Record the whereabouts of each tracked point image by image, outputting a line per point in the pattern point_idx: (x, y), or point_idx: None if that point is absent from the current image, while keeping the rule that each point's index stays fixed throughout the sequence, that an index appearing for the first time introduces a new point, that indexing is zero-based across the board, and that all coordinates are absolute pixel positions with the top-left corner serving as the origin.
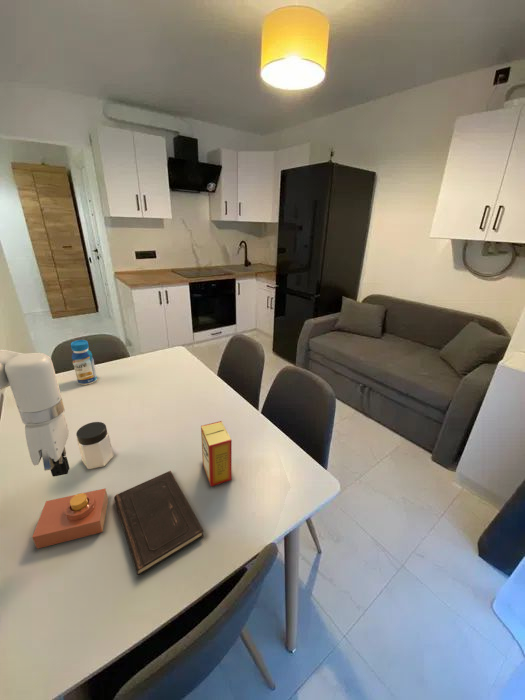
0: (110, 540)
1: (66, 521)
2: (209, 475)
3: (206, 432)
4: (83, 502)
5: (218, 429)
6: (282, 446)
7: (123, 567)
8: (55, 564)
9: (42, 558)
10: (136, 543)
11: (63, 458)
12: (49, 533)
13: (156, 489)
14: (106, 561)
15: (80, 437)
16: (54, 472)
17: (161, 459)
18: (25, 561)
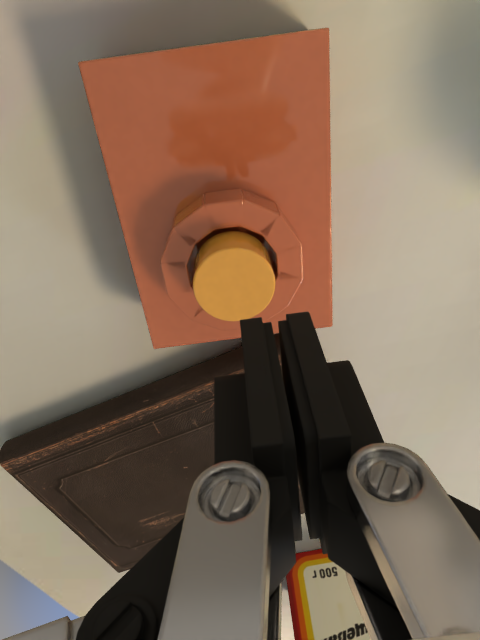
0: (125, 343)
1: (164, 212)
2: (301, 589)
3: None
4: (212, 313)
5: None
6: None
7: (32, 398)
8: (31, 180)
9: (55, 110)
10: (81, 446)
11: (322, 539)
12: (102, 150)
13: None
14: (49, 349)
15: None
16: (215, 401)
17: (464, 432)
18: (38, 28)
